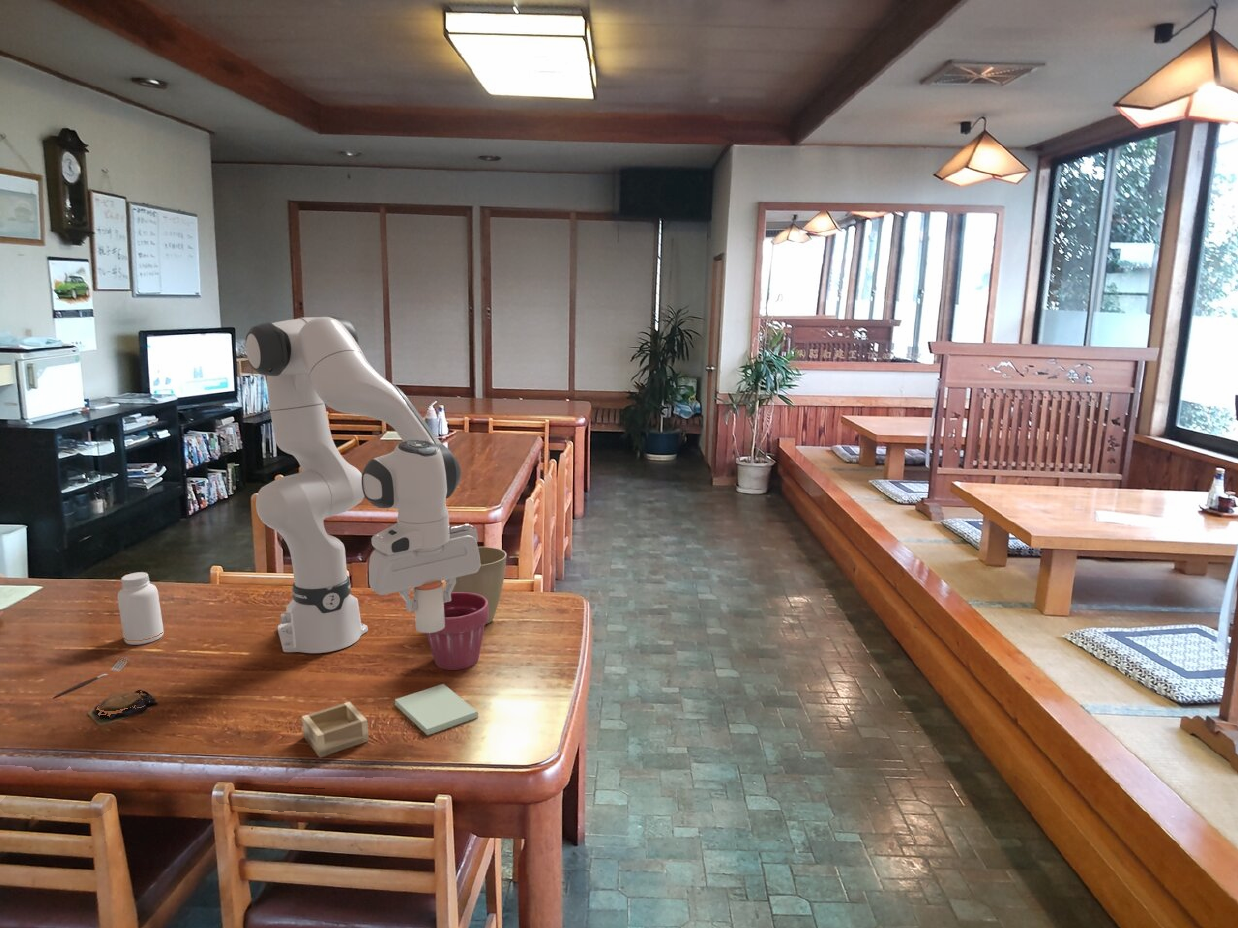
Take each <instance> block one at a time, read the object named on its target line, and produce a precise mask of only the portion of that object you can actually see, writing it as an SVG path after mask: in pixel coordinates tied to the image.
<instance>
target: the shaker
mask: <svg viewBox="0 0 1238 928" xmlns="http://www.w3.org/2000/svg"><path fill="white" fill-rule="evenodd" d="M412 590H413V591H412V592H413V599H414V600H416V601H417V607H418V609H417V610H415V611H414V619H415V620H414V621H415V630H416V631H417V632H418V633H422V634H427V633H433V632H438V631H440V630H442V629H444V628H445V615H444V599H443V590H444V585H443V582H442V581H441V580H440V581H436V582H432V583H428V584H424V585H422V586H419V587H415V588H412Z"/></svg>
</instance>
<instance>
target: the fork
mask: <svg viewBox="0 0 1238 928" xmlns="http://www.w3.org/2000/svg"><path fill="white" fill-rule="evenodd" d="M121 658H122V659H123V658H124V659H126V660H128V659H129V660H130V657H125V656H124V657H123V656H121V657H120V659H121ZM127 663H128V662H127V661H125V662H124V661H122V660H120V661H119V660H118V661H117V662H116V663H115V665H113V666H112V668H110V670H111V671H113V672H114V671H115V672H120V671H122V669H123V668H124V667H125V666H126V664H127ZM108 675H109V673H103V674H100V675H98V676H95V677H93V678H91V679H88V680H85V681H83V682H80V683H78V684H75V685H74V686H71V687H70V688H68V689H66V690H64V691H62V692H60V693H58V694H56V695H55V696H53V699H55V698H56V699H57V698H59V697H61V696H64V695H67V694H68V693H70V692H73V691H75V690H78V689H80V688H83V687H85V686H87V685H89V684H90V683H92V682H94V681H96V680H98V679H100V678H102V677H105V676H108Z"/></svg>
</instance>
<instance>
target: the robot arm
mask: <svg viewBox="0 0 1238 928" xmlns="http://www.w3.org/2000/svg"><path fill="white" fill-rule="evenodd" d="M244 344H245V354H246V358H247V360H248V363H249V365H250V367H251V368H252V369H253V370H254V371H255V372H257V374H259V375H262V376H265V377H266V376H267V377H266V381H267V382H266V389H267V399H268V406H269V412H270V417H271V422H272V424H271V425H272V428H273V434H274V440H275V443H276V446H277V447H278V448H279V449H280V450H281V451H282V452H284V453H286V454H288V455H292V456H293V457H294V458H295V459H296V460H297V462H298V464H299V467H300V469H301V472H296V473H293V474H290V475H286V476H285V475H284V476H282V477H279V478H277V479H274V480H273V481H270V482H269V483H267V484H265V485H264V486H262V487H260V489H259V490H258V492H257V495H256V498H255V509H256V512H257V515H258V518H259V519H260V520H261V521H262V523H263V524H264V525H266V526H267V527H268V528H270V529H272V530H274V531H276V532H277V533H278V534H279V535H280V536H281V537H282V539H284V542H285V543H286V545H287V548H288V551H289V553H290V557H291V559H290V560H291V565H292V574H293V579H294V582H293V583H292V590H291V593H292V598H291V599H292V600H291V601H290V602H289V603H288V604H287V605H286V607H285V609H286V612H285V613H284V612H283V613H281V614H280V616H279V617H280V624H278V625H277V633H278V637H279V641H280V644H281V647H282V648H281V649H282V651H283V652H284V653H304V654H322V653H324V654H325V653H330V652H334V651H339V650H342V649H345V648H348V647H349V646H351V645H353V644H355V643H357V641H359V639H360V638H361V637H362V635H364V634H365V633H368V631H369V628H368V625H366V624H364V623H363V622H361V621H362V620H361V614H360V607H359V600H358V598H357V597H355V595H353V594H351V593H352V592H351V591H352V590H351V589H352V588H351V586H352V584H351V580H350V577H349V576H348V572H347V571H348V569H347V557H346V548H345V544H344V543H343V542H342V541H341V540H340V539H339V538H337V537H336V536H333V535H331V534H328V532H327V531H326V528H325V523H324V522H325V521H324V520H325V519H327V518H331V517H333V516H336V515H340V514H344V513H346V512H347V511H349V510H351V509H353V508H354V507H357V506H358V505H359V504H361V503H362V501H363V500H364V498H365V499H366V500H367V502H370V504H371V505H373V506H374V507H376V508H378V509H392V508H395V509H396V510H397V522H395V523H394V524H392V525H390V526H389V527H387V528H385V529H383V530H381V531H380V532H378V533H375V534H373V536H372V537H371V546H372V547H373V548H374V550H373V551H372V552H371V554H370V556H369V564H368V582H369V587H370V589H371V590H372V591H373V592H374V593H376V594H377V595H379V596H385V595H388V594H394V593H397V592H398V593H399V595H400V597H401V598H402V599H403V600H404V601H405V609H406V611H407V612H408V613H409V612H411V613H412V612H415V610H417V609H418V607H417V601H416V600H414V598H411V597H410V596H409V595H411V592H412V591H411V589H413V588H415V587H419V586H422V585H424V584H428V583H432V582H436V581H440V580H441V582H443V581H444V582H445V584H444V585H445V586H444V587H443V599H444V603H446V602H450V601H451V593H452V591H453V588H454V586H455V584H456V577H460V576H464V575H469V574H473V573H476V572H478V570H479V568H480V566H481V563H480V555H479V550H478V547H479V546H478V540H479V539H478V529H477V528H476V527H475V526H473V525H471V524H469V523H465V524H464V523H463V524H462V525H454V526H450V517H449V510H448V508H447V505H446V504H447V503H446V500H447V499H449V498H450V497H451V496H452V495H453V493H455V491H456V489H457V488H458V486H459V483H460V480H461V477H462V471H461V466H460V463H459V461H458V459H457V458H456V456H455V455H454V453H453V452H452V451H451V450H450V449H449V448H447V446H446V445H444V444H443V442H441V441H440V440H439V438H438V437H437V435H436V434H435V433H434V432H433V430H432V429H431V427H430V426H429V424H427V422H426V420H425V419H424V418H423V417H422V415H421V414H420V412H419V411H418V410H417V408H416V407H415V405H414V404H413V403H412V402H411V401H410V400H409V398H408V396H407V395H406V394H405V393H404V391H403V390H402V389H400V388H399V386H397V385H395V384H394V383H392V382H390V381H388V380H387V379H386V378H384V377H383V376H382V375H381V374H380V373H379V372H377V370H375V368H374V367H372V365H371V364H370V363H369V361H368V360H367V357H366V356H365V353H363V351H362V349H361V347H360V346H359V338H358V334H357V331H356V328H355V327H354V326H353V324H352V322H350V321H349V319H348V320H347V319H346V318H342V317H339V316H319V317H316V316H315V317H314V316H313V317H310V316H309V317H308V316H306V317H298V318H294V319H293V318H292V319H286V320H281V321H275V322H269V321H267V322H263V323H262V322H261V323H259V324H256V325H254V326H252V327H251V328H250V329H249V330H248V331H247V334H246V336H245V343H244ZM326 406H327V407H329V408H330V409H333V410H334V411H337V412H340V413H343V414H348V415H355V416H362V417H367V418H371V419H375V420H377V421H378V420H379V421H381V422H384V423H385V424H388V426H390V427H391V428H393V430H395V432H396V433H397V435H398V436H399V438H401V440H402V441H401V442H400V443H398V444H397V445H396V446H395V448H394V450H392V451H391V452H389V453H386V454H384V455H381V456H378V457H374V458H372V459H370V460H369V461H368V462H367V463H366V465H365V466H364V468H363V470H362V472H361V471H360V470H359V469H358V468H357V467H356V466H354V465H352V464H351V463H349V462H348V461H347V460H346V459H345V458H344V457H343V455H342V454H341V453H340V451H339V450H338V447H337V446H336V444H335V442H334V439H333V436H332V432H331V429H330V425H329V424H330V423H329V418H328V415H327V409H326Z"/></svg>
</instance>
